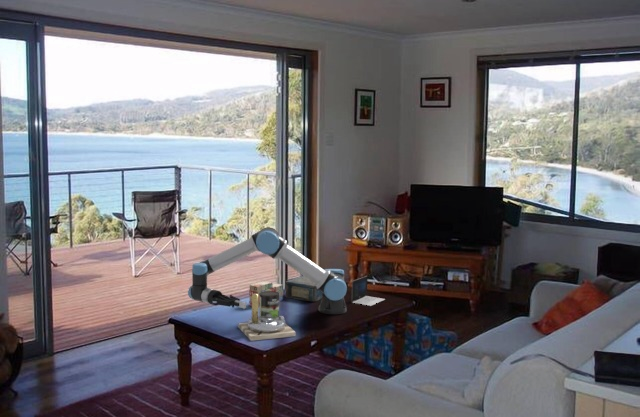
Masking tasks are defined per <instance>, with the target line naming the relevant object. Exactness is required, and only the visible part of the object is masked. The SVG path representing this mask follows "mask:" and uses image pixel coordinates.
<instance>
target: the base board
mask: <svg viewBox="0 0 640 417" xmlns="http://www.w3.org/2000/svg"><path fill="white" fill-rule="evenodd" d="M238 328H239V329H240V331H241V332H242V333H243V334H244V335H245V336H246V337H247V338H248V340H249V341H250V342H252V341H261V340H262V341H263V340H271V339H282V338H289V337H290V338H291V337H296V331H295V330H294V329H293V328H292V327H291V326H289V325H288V324H287V323H286V322H285V329H284V330H282V331H279V332H274V333H259V332H254V331H251V330H249V329H248V322H242V323H241V322H239V323H238Z"/></svg>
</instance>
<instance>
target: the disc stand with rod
mask: <svg viewBox="0 0 640 417" xmlns="http://www.w3.org/2000/svg"><path fill="white" fill-rule="evenodd" d="M250 317H251V318H249V319H248V320H247V323H248V329H249V330H251V331H254V332H259V333H274V332H279V331H282V330H284V329H285V323H286V320H285V317H284V315H279V317H275V316H272V313H267V314H266V316H259V308H258V294H257V293H254V294H252V306H251V316H250Z"/></svg>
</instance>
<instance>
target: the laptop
mask: <svg viewBox="0 0 640 417" xmlns="http://www.w3.org/2000/svg"><path fill="white" fill-rule="evenodd" d="M385 300H386V299H385V298H382V297H381V298H380V297H376V296H375V297H374V296H369V295H368V275H364V276H362V277H360V278H357V279H353V280H352V281H351V304H354V303H355V305H360V304H362V305H361V306H366V305H367V306H368V307H372V306H374V305H376V303H377V304H378V303H381V302H383V301H385Z"/></svg>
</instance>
